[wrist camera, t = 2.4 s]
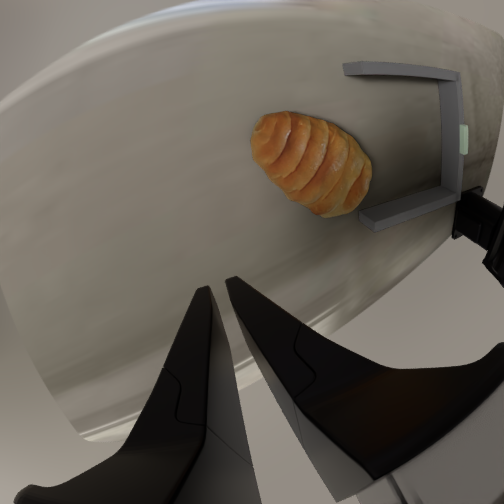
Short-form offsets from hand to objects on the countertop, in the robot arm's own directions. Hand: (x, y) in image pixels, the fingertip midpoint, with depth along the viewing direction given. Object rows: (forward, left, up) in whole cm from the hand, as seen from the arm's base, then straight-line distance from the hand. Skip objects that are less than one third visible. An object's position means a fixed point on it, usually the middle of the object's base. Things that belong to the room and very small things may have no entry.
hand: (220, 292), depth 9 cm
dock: (-19, 0, -12) cm, 22 cm away
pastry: (-9, +1, -12) cm, 15 cm away
